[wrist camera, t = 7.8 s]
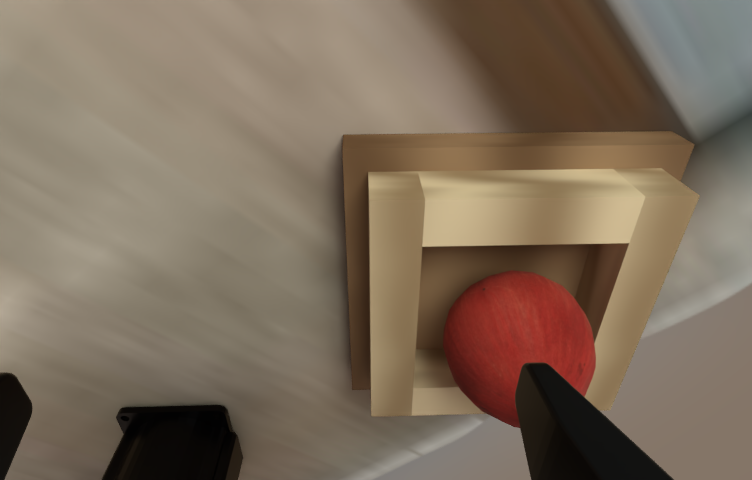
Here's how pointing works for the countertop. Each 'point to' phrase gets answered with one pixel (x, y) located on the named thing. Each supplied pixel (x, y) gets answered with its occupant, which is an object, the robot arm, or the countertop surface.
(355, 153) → the cradle board
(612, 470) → the robot arm
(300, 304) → the countertop surface
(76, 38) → the countertop surface
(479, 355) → the onion
